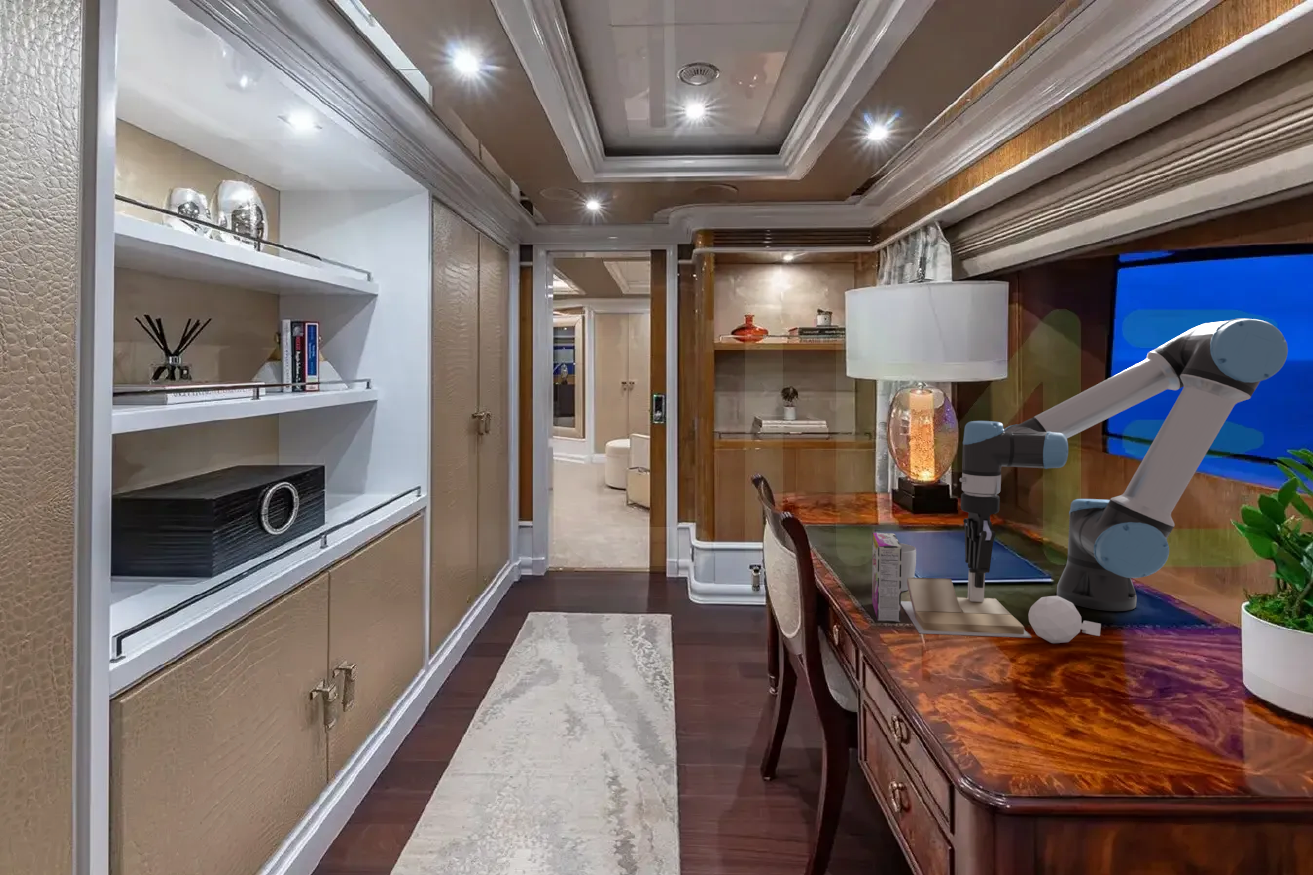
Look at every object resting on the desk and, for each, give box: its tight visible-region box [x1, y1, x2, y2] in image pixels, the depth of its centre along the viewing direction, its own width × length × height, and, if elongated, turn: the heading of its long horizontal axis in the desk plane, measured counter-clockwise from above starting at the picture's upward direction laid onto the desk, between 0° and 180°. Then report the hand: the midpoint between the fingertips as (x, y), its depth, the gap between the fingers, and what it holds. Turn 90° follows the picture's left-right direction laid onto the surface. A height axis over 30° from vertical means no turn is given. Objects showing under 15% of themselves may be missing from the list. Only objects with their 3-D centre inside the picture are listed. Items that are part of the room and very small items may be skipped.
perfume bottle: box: [1028, 595, 1102, 644], centre depth 131 cm, size 9×9×12 cm
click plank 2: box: [957, 596, 1012, 615], centre depth 146 cm, size 9×9×2 cm
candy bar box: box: [871, 532, 902, 623], centre depth 147 cm, size 11×5×16 cm, turn 168°
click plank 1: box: [907, 577, 961, 615], centre depth 147 cm, size 9×9×1 cm
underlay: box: [901, 600, 1032, 639], centre depth 144 cm, size 21×18×1 cm
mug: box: [899, 542, 917, 593], centre depth 165 cm, size 13×9×10 cm
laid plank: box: [915, 611, 1025, 634], centre depth 139 cm, size 19×7×2 cm, turn 83°
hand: (975, 599), depth 149 cm, fingers closed, pressing on click plank 2
